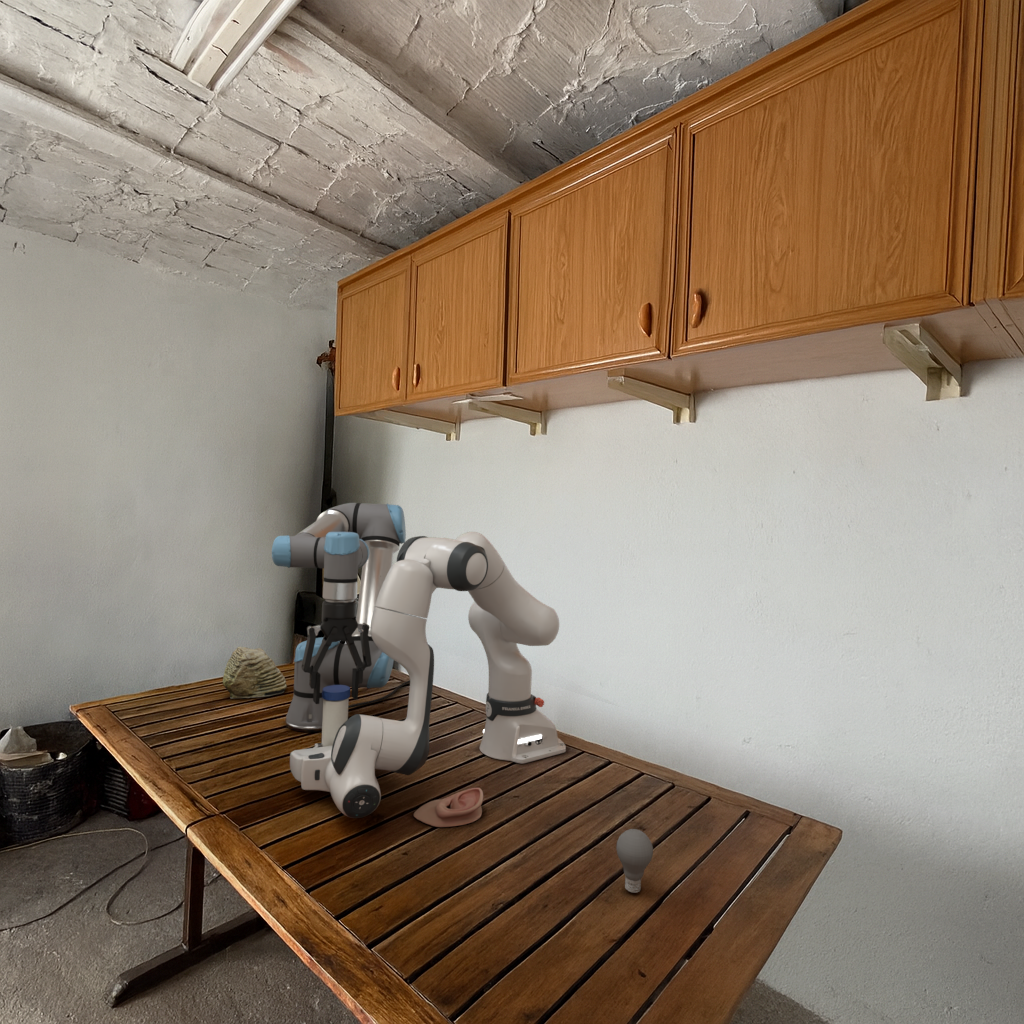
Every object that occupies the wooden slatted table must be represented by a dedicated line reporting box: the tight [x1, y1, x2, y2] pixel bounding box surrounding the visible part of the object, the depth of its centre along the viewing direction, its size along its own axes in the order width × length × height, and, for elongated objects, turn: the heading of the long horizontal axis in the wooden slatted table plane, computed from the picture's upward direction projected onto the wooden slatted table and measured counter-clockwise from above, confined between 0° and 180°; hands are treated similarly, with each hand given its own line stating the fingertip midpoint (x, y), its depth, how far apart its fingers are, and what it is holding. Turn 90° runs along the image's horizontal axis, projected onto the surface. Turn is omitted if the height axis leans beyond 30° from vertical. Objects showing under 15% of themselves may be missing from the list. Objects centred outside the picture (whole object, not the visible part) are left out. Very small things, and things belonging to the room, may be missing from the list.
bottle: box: [321, 697, 350, 747], centre depth 144 cm, size 6×6×19 cm
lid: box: [322, 685, 351, 701], centre depth 144 cm, size 6×6×2 cm
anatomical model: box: [413, 787, 484, 828], centre depth 129 cm, size 13×4×12 cm
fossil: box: [222, 646, 288, 699], centre depth 198 cm, size 9×18×15 cm, turn 132°
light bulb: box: [615, 828, 654, 894], centre depth 106 cm, size 6×6×10 cm
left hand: (335, 699), depth 144 cm, fingers open, 8 cm apart
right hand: (333, 744), depth 145 cm, fingers closed on bottle, 5 cm apart
